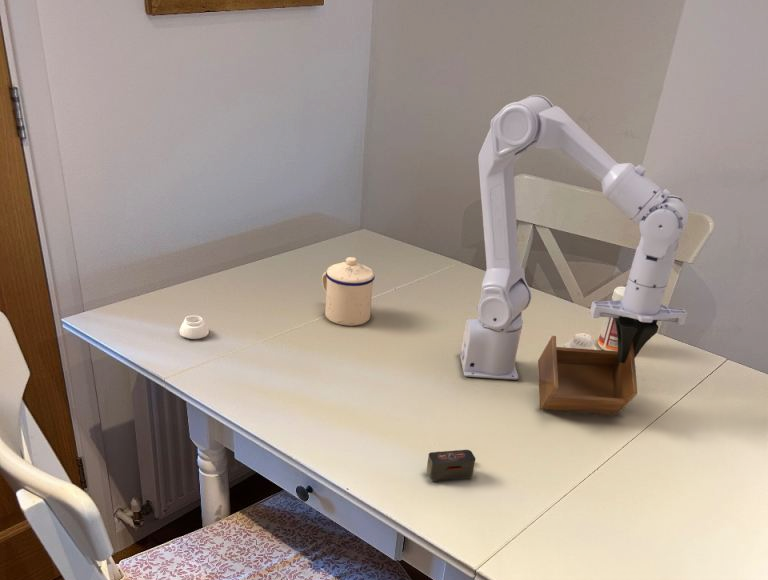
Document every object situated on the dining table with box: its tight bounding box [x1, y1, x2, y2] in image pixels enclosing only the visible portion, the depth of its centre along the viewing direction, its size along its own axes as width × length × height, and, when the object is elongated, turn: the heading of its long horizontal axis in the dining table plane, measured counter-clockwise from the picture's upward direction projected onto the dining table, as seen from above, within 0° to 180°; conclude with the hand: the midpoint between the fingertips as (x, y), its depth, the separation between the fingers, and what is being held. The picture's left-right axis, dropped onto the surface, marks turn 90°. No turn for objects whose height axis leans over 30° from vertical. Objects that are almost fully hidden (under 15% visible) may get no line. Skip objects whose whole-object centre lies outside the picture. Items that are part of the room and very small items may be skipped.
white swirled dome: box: [563, 332, 598, 350], centre depth 139 cm, size 6×6×7 cm
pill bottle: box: [597, 286, 626, 351], centre depth 147 cm, size 6×6×11 cm
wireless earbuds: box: [425, 449, 476, 482], centre depth 111 cm, size 5×7×3 cm, turn 105°
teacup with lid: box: [321, 256, 376, 327], centre depth 148 cm, size 12×9×12 cm
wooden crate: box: [537, 335, 639, 416], centre depth 126 cm, size 9×13×8 cm
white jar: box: [179, 315, 210, 340], centre depth 138 cm, size 5×3×5 cm
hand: (624, 360), depth 126 cm, fingers closed, pressing on wooden crate
